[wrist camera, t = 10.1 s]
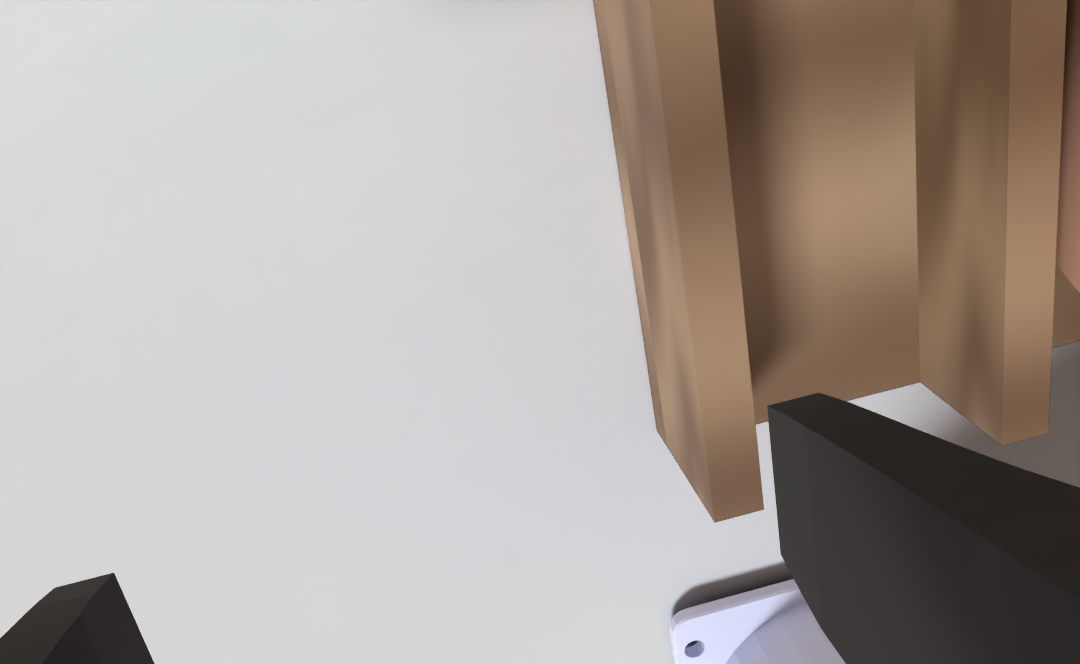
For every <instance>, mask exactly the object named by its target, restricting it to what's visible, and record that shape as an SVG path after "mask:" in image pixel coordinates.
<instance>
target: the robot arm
mask: <svg viewBox="0 0 1080 664" xmlns="http://www.w3.org/2000/svg"><path fill="white" fill-rule="evenodd" d="M767 409H768V420H769V431H770V441H771V452H772V463H773V474H774V484H775V495H776V506H777V517H778V527H779V538H780V549H781V555H782V557H783V559H784V561H785V563H786V565H787V567H788V569H789V571H790V572H791V574H792V576H793V578H794V579H791V580H787V581H784V582H780V583H777V584H773V585H769V586H766V587H762V588H758V589H755V590H751V591H747V592H744V593H740V594H737V595H733V596H729V597H726V598H722V599H718V600H715V601H711V602H707V603H704V604H700V605H697V606H693V607H689V608H686V609H683V610H681V611H679V612H678V613H676V614H675V615H674V616H673V617H672V619H671V621H670V623H669V635H670V641H671V648H672V654H673V660H674V664H1080V488H1079V487H1076V486H1072V485H1069V484H1066V483H1063V482H1060V481H1057V480H1054V479H1051V478H1048V477H1045V476H1042V475H1039V474H1036V473H1033V472H1030V471H1027V470H1024V469H1021V468H1018V467H1015V466H1012V465H1010V464H1007V463H1004V462H1001V461H998V460H996V459H993V458H990V457H987V456H985V455H982V454H979V453H977V452H974V451H971V450H969V449H966V448H963V447H961V446H958V445H956V444H953V443H950V442H948V441H945V440H943V439H940V438H937V437H935V436H932V435H930V434H927V433H925V432H922V431H920V430H917V429H915V428H912V427H910V426H907V425H905V424H902V423H900V422H897V421H895V420H892V419H890V418H887V417H885V416H882V415H880V414H877V413H875V412H872V411H870V410H867V409H864V408H862V407H859V406H857V405H854V404H851V403H849V402H846V401H843V400H841V399H838V398H835V397H832V396H829V395H825V394H822V393H815V394H811V395H807V396H803V397H799V398H795V399H791V400H788V401H784V402H780V403H776V404H772V405H768V406H767ZM697 640H698V642H697V643H696V644H695V645H693V646H691V647H686V646H687V644H688V643H690V642H692V641H697ZM0 664H154V662H153V660H152V657H151V655H150V653H149V651H148V648H147V646H146V644H145V642H144V639H143V637H142V635H141V633H140V630H139V628H138V626H137V624H136V621H135V619H134V617H133V615H132V613H131V610H130V608H129V606H128V604H127V601H126V599H125V597H124V595H123V592H122V590H121V588H120V586H119V583H118V581H117V579H116V577H115V574H114V573H111V574H107V575H103V576H99V577H96V578H92V579H88V580H84V581H80V582H76V583H72V584H68V585H64V586H60V587H56V588H54V589H53V590H52V591H50V592H49V593H48V594H47V595H46V596H45V597H43V598H42V599H41V600H40V601H39V602H38V603H37V604H35V605H34V606H33V607H32V608H31V609H30V610H29V611H28V612H27V613H26V614H25V615H24V616H23V617H22V618H21V619H20V620H19V621H18V622H17V623H16V624H15V625H14V626H13V627H11V628H10V629H9V630H8V631H7V632H6V633H5V634H4V635H3V636H2V637H1V638H0Z"/></svg>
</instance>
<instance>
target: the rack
mask: <svg viewBox="0 0 1080 664" xmlns="http://www.w3.org/2000/svg"><path fill="white" fill-rule="evenodd" d="M593 3H594V10H595V16H596V23H597V30H598V37H599V43H600V50H601V57H602V64H603V70H604V77H605V84H606V91H607V97H608V104H609V111H610V118H611V124H612V131H613V138H614V145H615V151H616V158H617V165H618V172H619V178H620V185H621V192H622V199H623V205H624V212H625V219H626V226H627V232H628V239H629V246H630V253H631V259H632V266H633V273H634V280H635V286H636V293H637V300H638V307H639V313H640V320H641V327H642V334H643V340H644V347H645V354H646V361H647V367H648V374H649V381H650V388H651V394H652V401H653V408H654V415H655V421H656V428H657V431H658V433H659V435H660V436H661V438H662V439H663V441H664V443H665V444H666V446H667V447H668V449H669V450H670V452H671V454H672V455H673V457H674V458H675V460H676V462H677V463H678V465H679V466H680V468H681V470H682V471H683V473H684V474H685V476H686V478H687V479H688V481H689V482H690V484H691V485H692V487H693V489H694V490H695V492H696V493H697V495H698V497H699V498H700V500H701V501H702V503H703V505H704V506H705V508H706V509H707V511H708V513H709V514H710V516H711V517H712V519H713V521H714V522H719V521H722V520H726V519H730V518H734V517H737V516H741V515H745V514H749V513H752V512H756V511H760V510H764V505H763V495H762V485H761V475H760V465H759V455H758V445H757V435H756V424H760V423H764V422H767V421H769V420H768V409H767V406H768V405H772V404H776V403H780V402H784V401H788V400H791V399H795V398H799V397H803V396H807V395H811V394H815V393H822V394H825V395H829V396H832V397H835V398H838V399H841V400H843V401H849V400H853V399H857V398H861V397H865V396H868V395H872V394H876V393H880V392H884V391H888V390H892V389H896V388H899V387H903V386H907V385H911V384H915V383H919V382H920V383H922V384H923V385H924V386H926V387H927V388H928V389H929V390H931V391H932V392H933V393H935V394H936V395H937V396H938V397H940V398H941V399H942V400H944V401H945V402H946V403H947V404H949V405H950V406H951V407H953V408H954V409H955V410H956V411H958V412H959V413H960V414H962V415H963V416H964V417H965V418H967V419H968V420H969V421H971V422H972V423H973V424H974V425H976V426H977V427H978V428H980V429H981V430H982V431H983V432H985V433H986V434H987V435H989V436H990V437H991V438H992V439H994V440H995V441H996V442H998V443H999V444H1000V445H1001V446H1004V445H1007V444H1011V443H1015V442H1018V441H1022V440H1026V439H1030V438H1033V437H1037V436H1041V435H1045V434H1048V424H1049V401H1050V378H1051V356H1052V348H1055V347H1059V346H1063V345H1066V344H1070V343H1074V342H1078V341H1080V293H1079V291H1078V290H1077V289H1076V288H1075V287H1074V286H1073V284H1072V283H1071V282H1070V281H1069V280H1068V278H1067V277H1066V276H1065V275H1064V273H1063V272H1062V270H1061V269H1060V268H1059V266H1058V265H1057V263H1056V241H1057V218H1058V195H1059V172H1060V150H1061V127H1062V104H1063V81H1064V58H1065V35H1066V12H1067V0H593Z"/></svg>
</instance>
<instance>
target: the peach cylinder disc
mask: <svg viewBox="0 0 1080 664" xmlns="http://www.w3.org/2000/svg"><path fill="white" fill-rule="evenodd" d="M1056 263H1057V265H1058V266H1059V268H1060V269H1061V270H1062V272H1063V273H1064V275H1065V276H1066V277H1067V278H1068V280H1069V281H1070V282H1071V283H1072V284H1073V286H1074V287H1075V288H1076V289H1077V290H1078V291H1079V293H1080V0H1067V12H1066V35H1065V58H1064V81H1063V104H1062V127H1061V150H1060V172H1059V195H1058V218H1057V241H1056Z"/></svg>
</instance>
